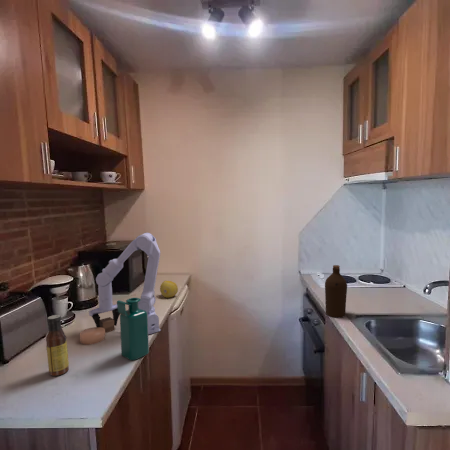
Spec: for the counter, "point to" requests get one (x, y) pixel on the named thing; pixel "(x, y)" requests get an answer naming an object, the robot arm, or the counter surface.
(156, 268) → the robot arm
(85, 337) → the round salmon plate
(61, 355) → the sauce bottle
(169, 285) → the fruit
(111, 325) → the walnut cube
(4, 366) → the counter surface
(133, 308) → the green plastic tall container
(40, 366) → the counter surface
